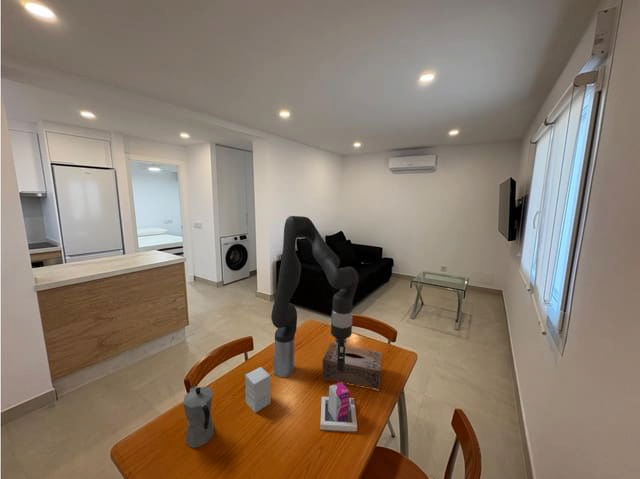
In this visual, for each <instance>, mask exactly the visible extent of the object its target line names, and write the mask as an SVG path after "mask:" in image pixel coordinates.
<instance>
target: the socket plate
mask: <svg viewBox="0 0 640 479" xmlns="http://www.w3.org/2000/svg"><path fill="white" fill-rule="evenodd" d="M328 402H329V396H321V402H320V403H321V405H320V406H321V407H320V428H319V429H320V430H319V431H327V432H328V431H329V432H339V431H340V433H343V432H345V433H352V432H351V431H357V432H358V423H357V414H356V404H355V398H353V397H352V398H351V397H349V408H348V418H347V419H344V420H341V421H339V422H334V421H333V419H332V418H331V416H330V415H329V413H328ZM346 431H347V432H346Z"/></svg>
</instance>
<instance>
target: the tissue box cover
mask: <svg viewBox="0 0 640 479" xmlns="http://www.w3.org/2000/svg"><path fill="white" fill-rule="evenodd" d="M339 358H343V357H339ZM382 359H383V352H381V351H377V350H373V349H372V350H371V349H365V348H360V347H355V346H350V345H346V354H345V364H344V367H343V371H337V354H336V345H335V343H333V342H330V343H329V345H328V347H327V348H326V352H325V354H324V356H323V358H322V372H321V373H322V375H321V377H322V380H327V381H330V380H332V381H331V382H335V381H336V383H339V382H343V384H344V383H349V384H354V385H359V386H364V387H370V388H376V389H379V390H380V388H379V387H381V385H380V384H381V376H382V375H381V374H382V363H383V362H382ZM380 375H381V376H380Z"/></svg>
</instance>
